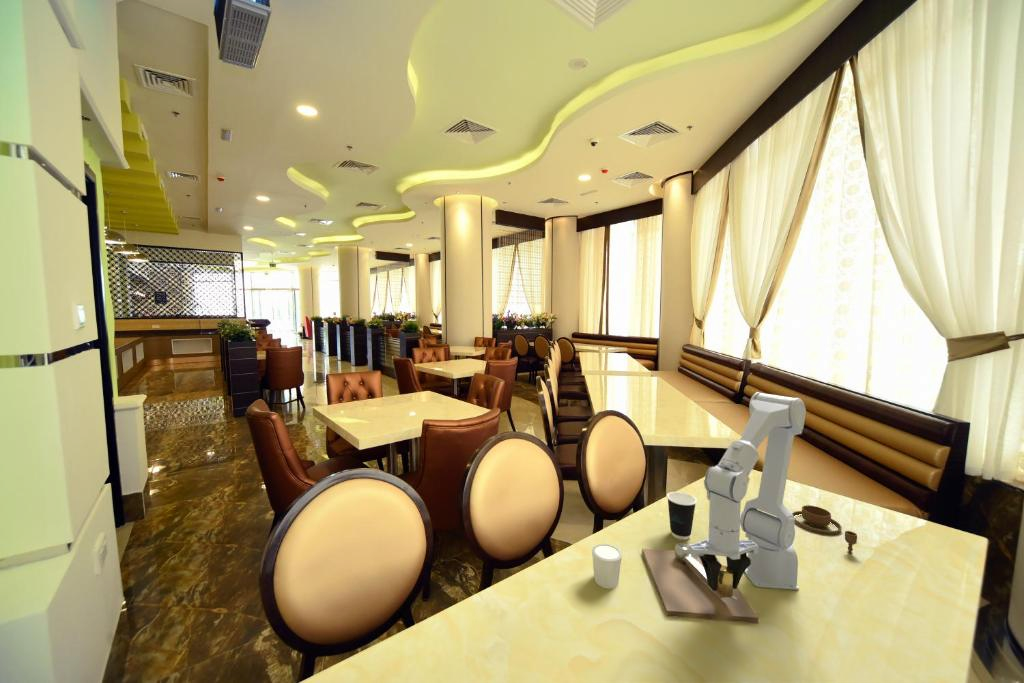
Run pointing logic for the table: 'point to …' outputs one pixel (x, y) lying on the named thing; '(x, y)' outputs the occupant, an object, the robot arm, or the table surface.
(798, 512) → the place setting
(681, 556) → the lever
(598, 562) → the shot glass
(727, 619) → the bench base
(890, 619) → the table surface
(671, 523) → the dixie cup
